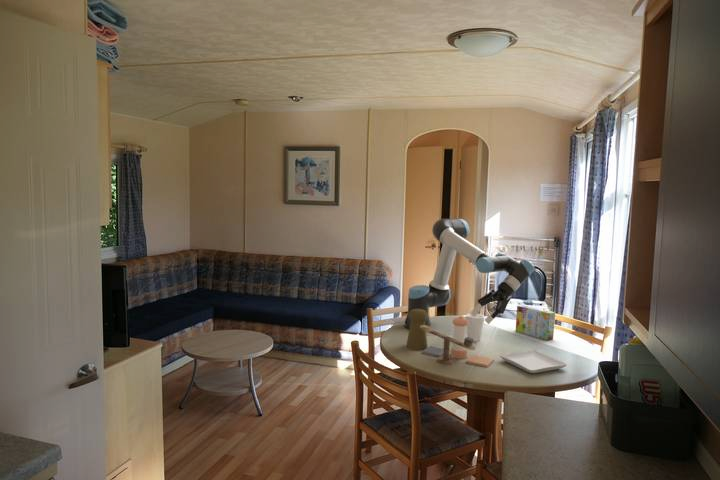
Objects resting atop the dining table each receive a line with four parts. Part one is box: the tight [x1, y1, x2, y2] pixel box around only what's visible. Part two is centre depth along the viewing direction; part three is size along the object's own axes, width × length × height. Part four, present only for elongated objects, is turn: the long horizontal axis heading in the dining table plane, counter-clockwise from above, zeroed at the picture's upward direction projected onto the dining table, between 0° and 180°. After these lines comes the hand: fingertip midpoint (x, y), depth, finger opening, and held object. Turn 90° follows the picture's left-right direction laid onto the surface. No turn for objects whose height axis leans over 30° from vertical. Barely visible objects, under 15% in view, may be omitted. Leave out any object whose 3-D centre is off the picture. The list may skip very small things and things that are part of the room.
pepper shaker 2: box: [450, 315, 468, 359], centre depth 233 cm, size 7×7×19 cm
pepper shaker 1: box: [406, 309, 428, 352], centre depth 244 cm, size 10×10×19 cm
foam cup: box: [465, 313, 485, 342], centre depth 260 cm, size 10×9×13 cm
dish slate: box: [421, 345, 444, 358], centre depth 238 cm, size 10×10×1 cm
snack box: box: [515, 304, 556, 341], centre depth 271 cm, size 21×6×15 cm, turn 35°
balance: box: [420, 325, 476, 365], centre depth 225 cm, size 27×6×15 cm, turn 58°
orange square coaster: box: [465, 354, 495, 368], centre depth 226 cm, size 10×10×1 cm
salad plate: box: [499, 349, 568, 374], centre depth 223 cm, size 21×21×3 cm
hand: (479, 318), depth 234 cm, fingers open, 13 cm apart
